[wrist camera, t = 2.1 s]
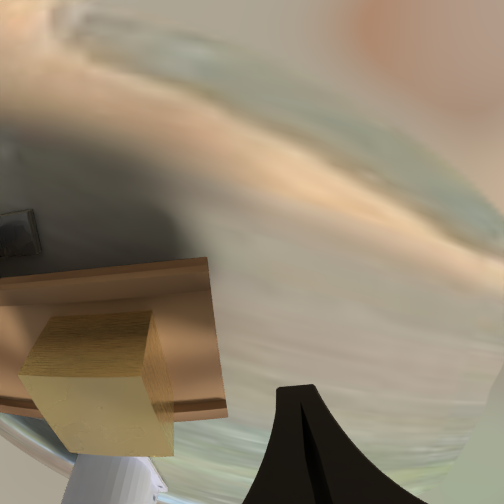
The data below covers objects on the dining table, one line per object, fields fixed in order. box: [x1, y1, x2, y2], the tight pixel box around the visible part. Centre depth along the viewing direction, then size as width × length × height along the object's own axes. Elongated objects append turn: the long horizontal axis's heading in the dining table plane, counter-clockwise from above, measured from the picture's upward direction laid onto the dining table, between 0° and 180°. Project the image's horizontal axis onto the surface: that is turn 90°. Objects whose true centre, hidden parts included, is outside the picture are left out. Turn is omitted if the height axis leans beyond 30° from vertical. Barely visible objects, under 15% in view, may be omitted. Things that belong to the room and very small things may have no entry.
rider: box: [18, 310, 174, 457], centre depth 11 cm, size 5×5×4 cm
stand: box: [0, 209, 45, 421], centre depth 15 cm, size 13×8×4 cm, turn 2°
